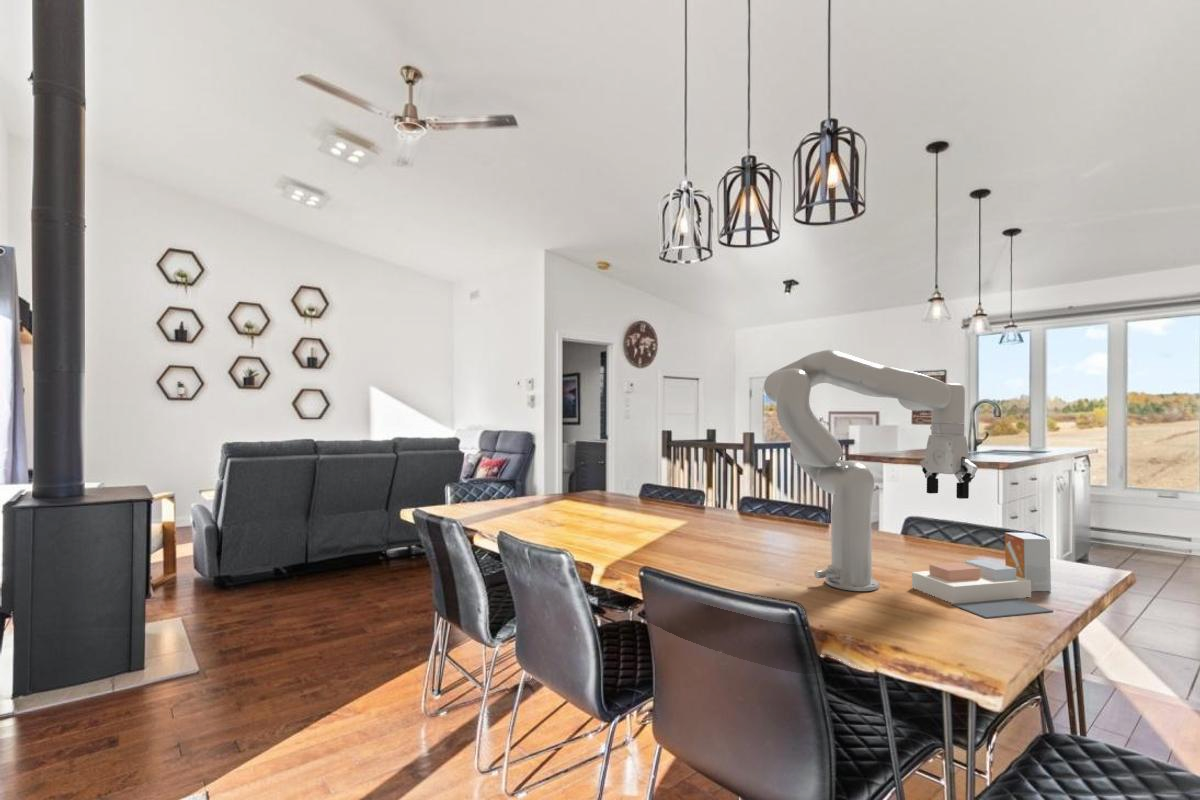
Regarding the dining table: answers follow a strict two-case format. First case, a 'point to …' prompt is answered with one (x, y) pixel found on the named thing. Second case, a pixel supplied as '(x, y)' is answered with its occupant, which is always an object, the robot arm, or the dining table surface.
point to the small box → (1029, 558)
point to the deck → (971, 588)
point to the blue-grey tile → (993, 569)
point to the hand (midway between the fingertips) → (947, 495)
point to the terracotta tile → (954, 571)
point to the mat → (1002, 608)
